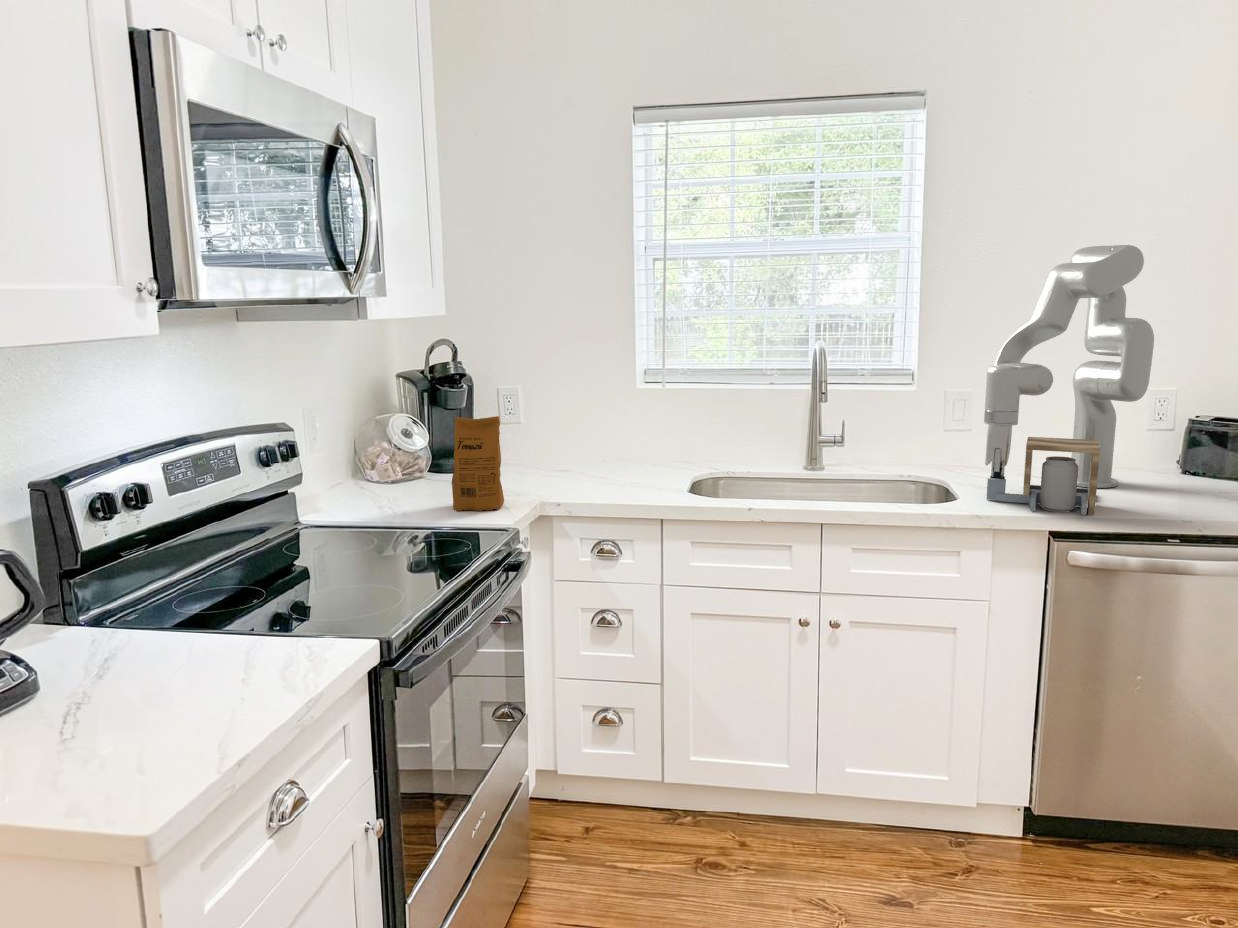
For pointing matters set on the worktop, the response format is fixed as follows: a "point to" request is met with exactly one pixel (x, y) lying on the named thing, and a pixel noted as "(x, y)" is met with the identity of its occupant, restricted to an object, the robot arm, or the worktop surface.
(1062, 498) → the can
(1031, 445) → the tunnel
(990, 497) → the blue-grey forked pusher
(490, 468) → the coffee package
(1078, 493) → the dark flat panel
